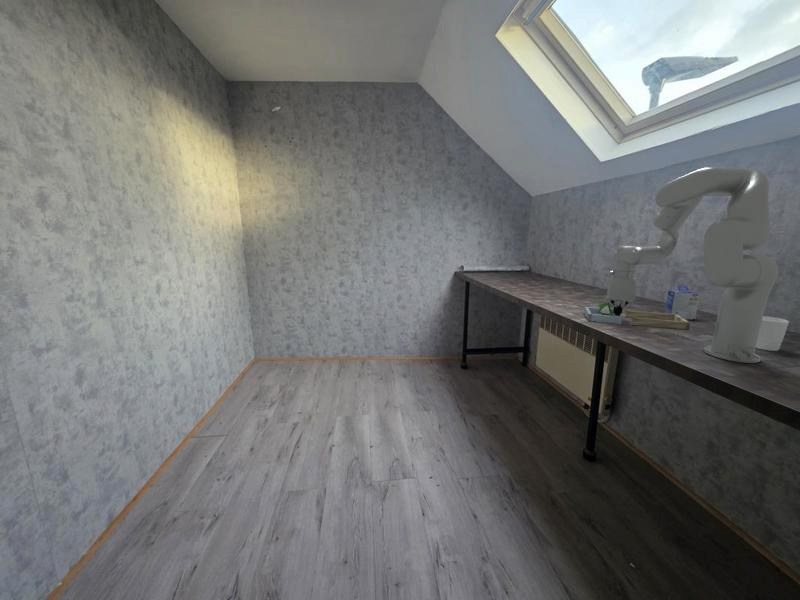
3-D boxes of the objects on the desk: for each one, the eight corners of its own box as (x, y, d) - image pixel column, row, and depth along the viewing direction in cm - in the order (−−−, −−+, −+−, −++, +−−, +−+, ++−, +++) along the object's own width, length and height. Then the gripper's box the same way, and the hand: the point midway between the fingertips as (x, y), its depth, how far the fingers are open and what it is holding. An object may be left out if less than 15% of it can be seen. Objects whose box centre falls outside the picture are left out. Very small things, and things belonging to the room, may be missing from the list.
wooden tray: (688, 330, 128) (690, 322, 128) (632, 324, 136) (633, 317, 135) (675, 320, 141) (676, 314, 141) (624, 316, 149) (625, 310, 148)
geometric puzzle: (593, 312, 151) (595, 301, 145) (609, 309, 149) (611, 297, 144) (600, 324, 146) (602, 312, 140) (617, 320, 144) (619, 309, 139)
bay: (621, 324, 137) (622, 317, 136) (588, 320, 142) (588, 314, 141) (614, 315, 151) (615, 309, 150) (584, 312, 156) (584, 306, 155)
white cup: (760, 351, 106) (767, 321, 104) (740, 342, 114) (746, 315, 112) (789, 352, 105) (796, 322, 103) (766, 344, 112) (773, 316, 110)
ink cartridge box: (687, 316, 148) (693, 285, 145) (696, 320, 142) (702, 287, 139) (663, 315, 150) (668, 285, 147) (670, 319, 144) (676, 287, 141)
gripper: (604, 274, 140) (598, 315, 144) (646, 276, 134) (639, 319, 138) (602, 272, 146) (596, 311, 151) (642, 274, 140) (635, 315, 145)
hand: (617, 315), depth 144 cm, fingers closed
